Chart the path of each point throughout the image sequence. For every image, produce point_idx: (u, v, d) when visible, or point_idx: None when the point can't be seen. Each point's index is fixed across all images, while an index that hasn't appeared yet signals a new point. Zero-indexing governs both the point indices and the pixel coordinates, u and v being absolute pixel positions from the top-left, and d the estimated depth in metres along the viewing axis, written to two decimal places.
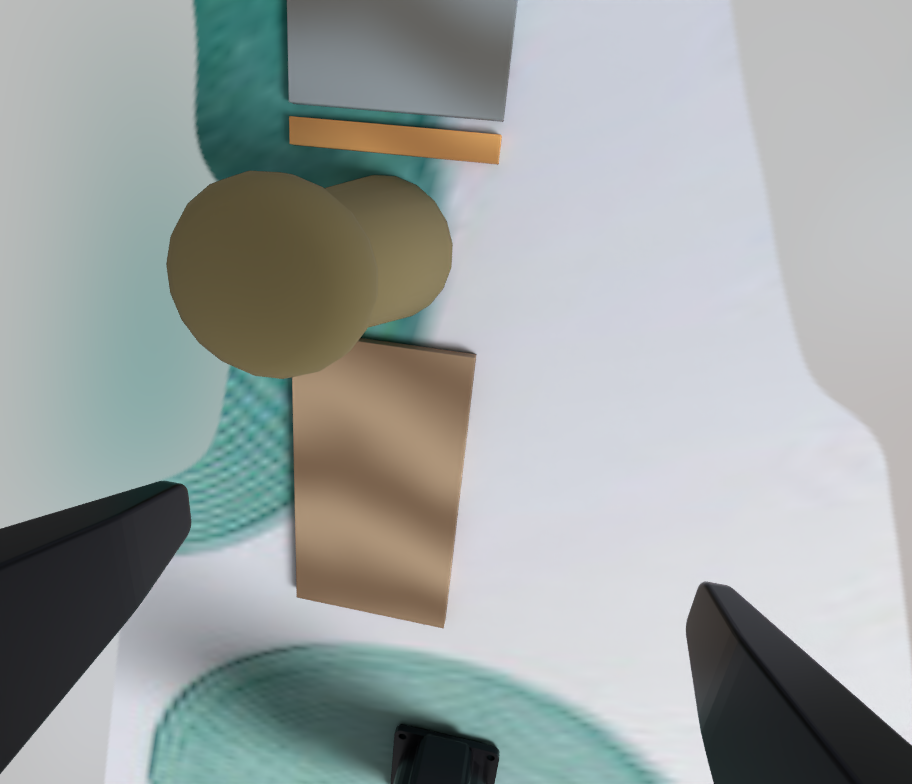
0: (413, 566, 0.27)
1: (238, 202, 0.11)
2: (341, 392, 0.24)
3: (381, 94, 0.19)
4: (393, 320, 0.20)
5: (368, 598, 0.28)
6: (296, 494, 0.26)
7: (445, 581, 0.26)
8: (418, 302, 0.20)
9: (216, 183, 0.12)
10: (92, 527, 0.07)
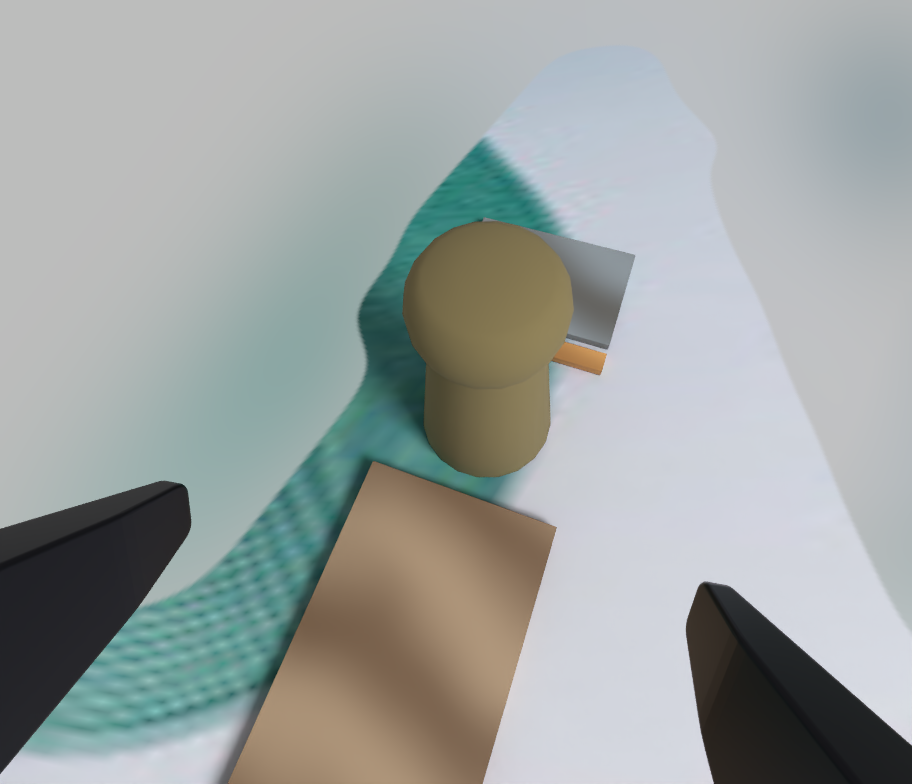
0: None
1: (504, 226, 0.15)
2: (400, 535, 0.21)
3: None
4: (498, 452, 0.21)
5: None
6: (283, 666, 0.20)
7: None
8: (524, 444, 0.21)
9: None
10: (92, 527, 0.07)
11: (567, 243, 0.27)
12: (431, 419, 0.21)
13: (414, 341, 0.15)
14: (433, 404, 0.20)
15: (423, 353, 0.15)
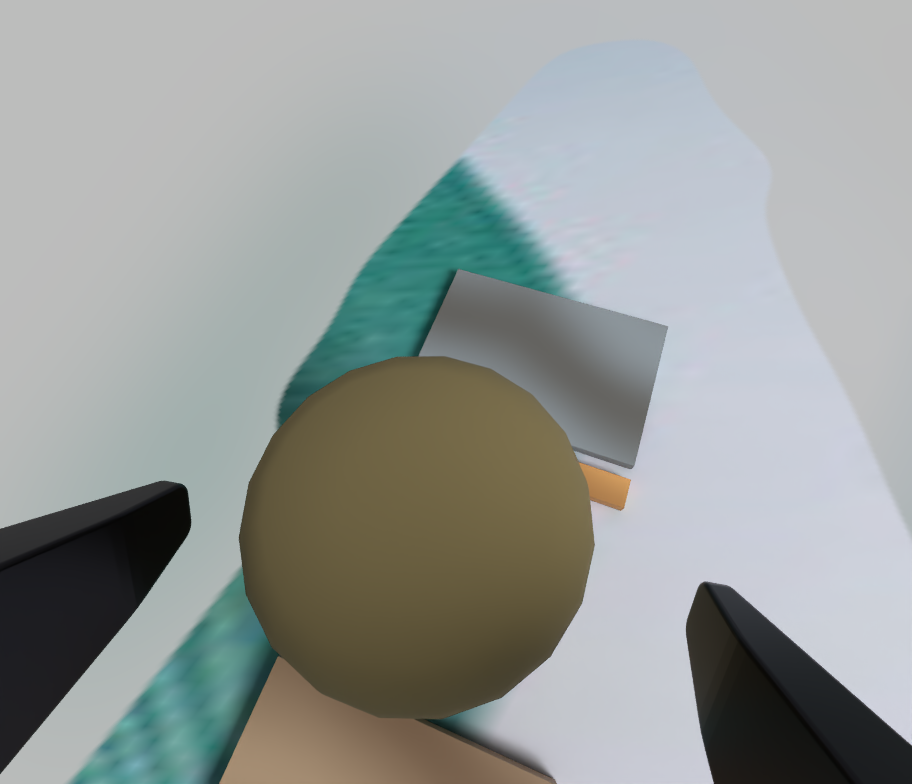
0: None
1: (452, 374, 0.07)
2: None
3: None
4: None
5: None
6: None
7: None
8: None
9: None
10: (92, 527, 0.07)
11: (572, 308, 0.20)
12: None
13: None
14: None
15: None
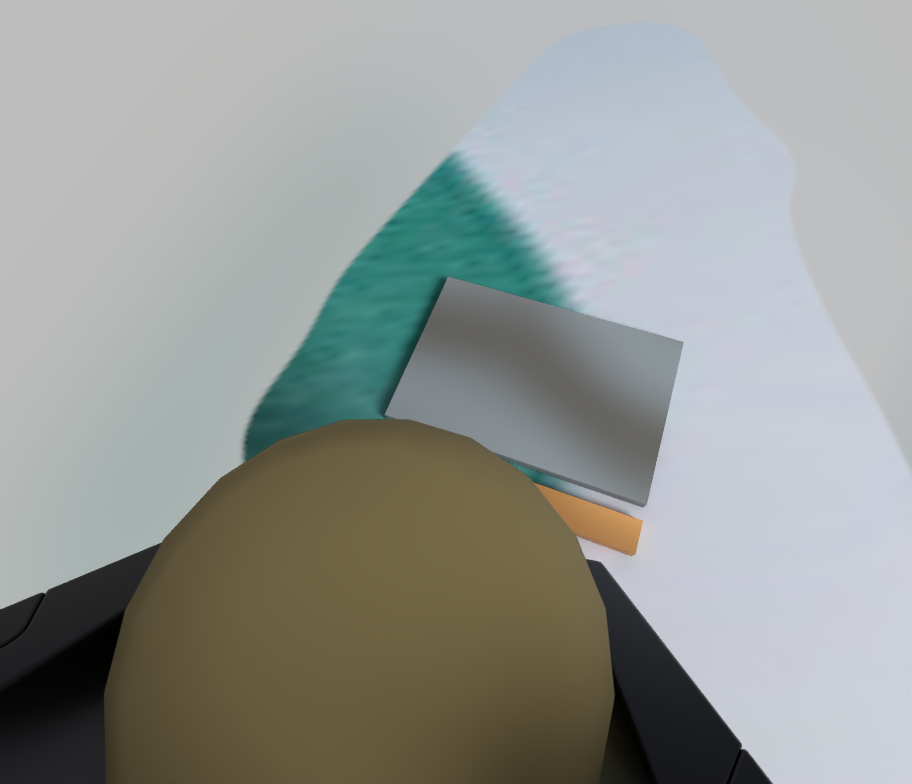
0: None
1: (413, 456, 0.05)
2: None
3: (499, 437, 0.16)
4: None
5: None
6: None
7: None
8: None
9: (361, 420, 0.06)
10: None
11: (576, 321, 0.18)
12: None
13: None
14: None
15: None
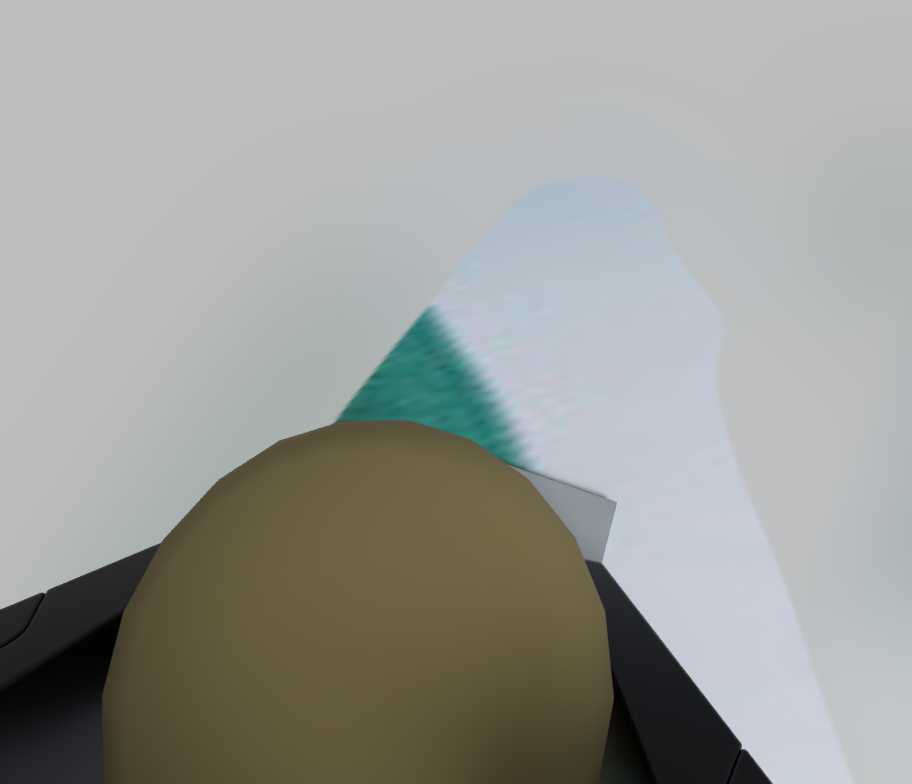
0: None
1: (412, 458, 0.05)
2: None
3: None
4: None
5: None
6: None
7: None
8: None
9: (360, 422, 0.06)
10: None
11: None
12: None
13: None
14: None
15: None
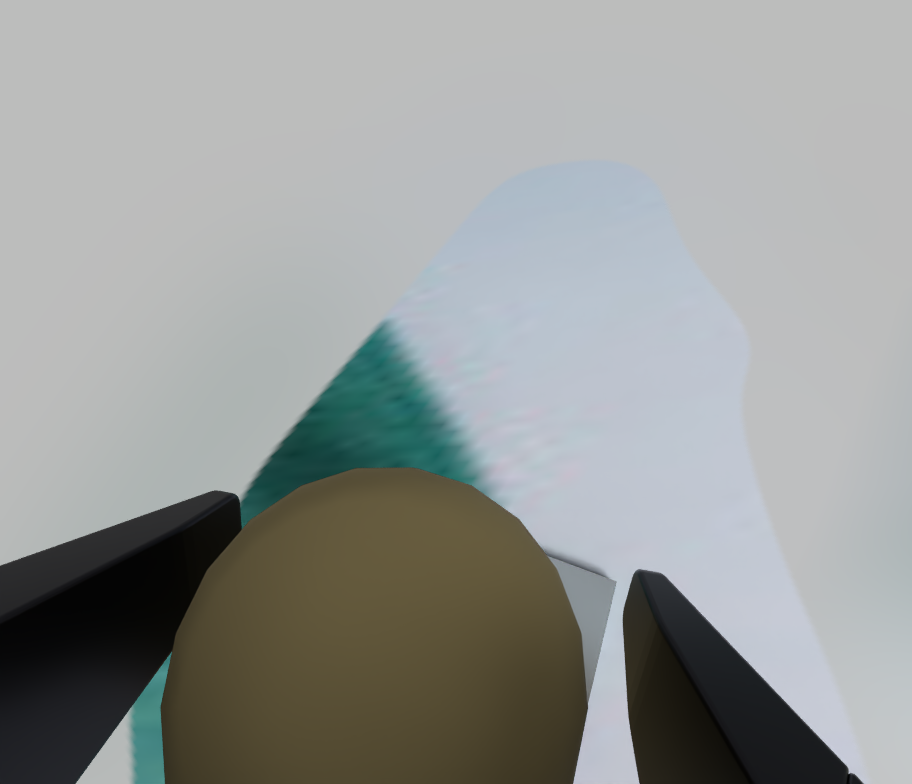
0: None
1: (416, 506, 0.06)
2: None
3: None
4: None
5: None
6: None
7: None
8: None
9: (371, 469, 0.07)
10: (155, 540, 0.07)
11: None
12: None
13: None
14: None
15: None
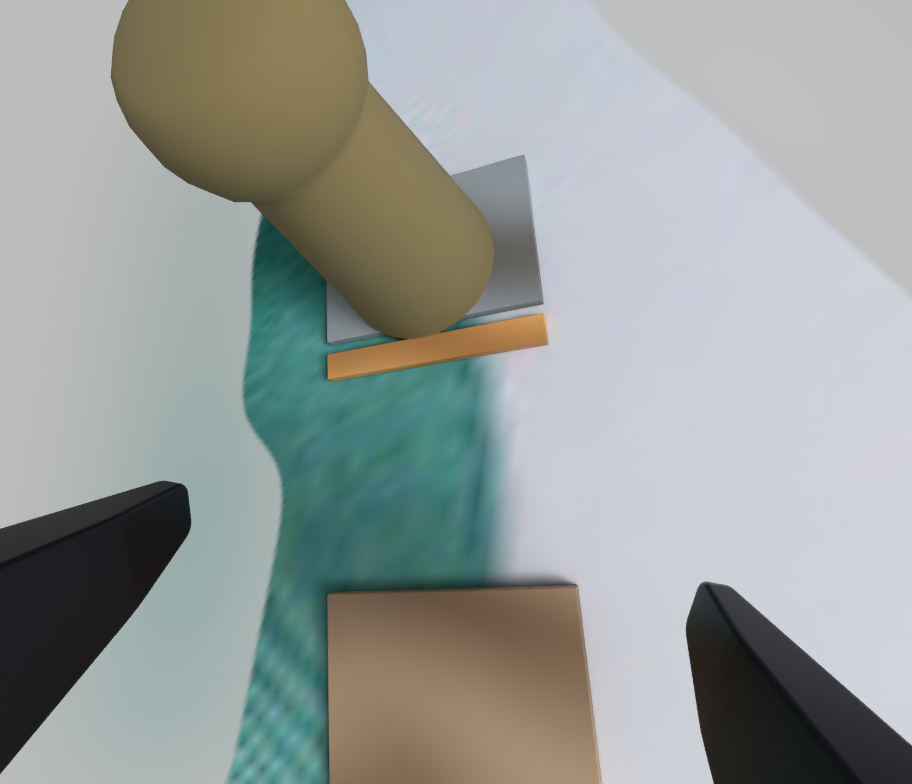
0: None
1: None
2: (394, 678, 0.16)
3: None
4: (427, 285, 0.16)
5: None
6: None
7: None
8: (455, 260, 0.16)
9: None
10: (92, 527, 0.07)
11: None
12: (338, 292, 0.17)
13: (171, 169, 0.10)
14: (316, 268, 0.15)
15: (187, 176, 0.10)
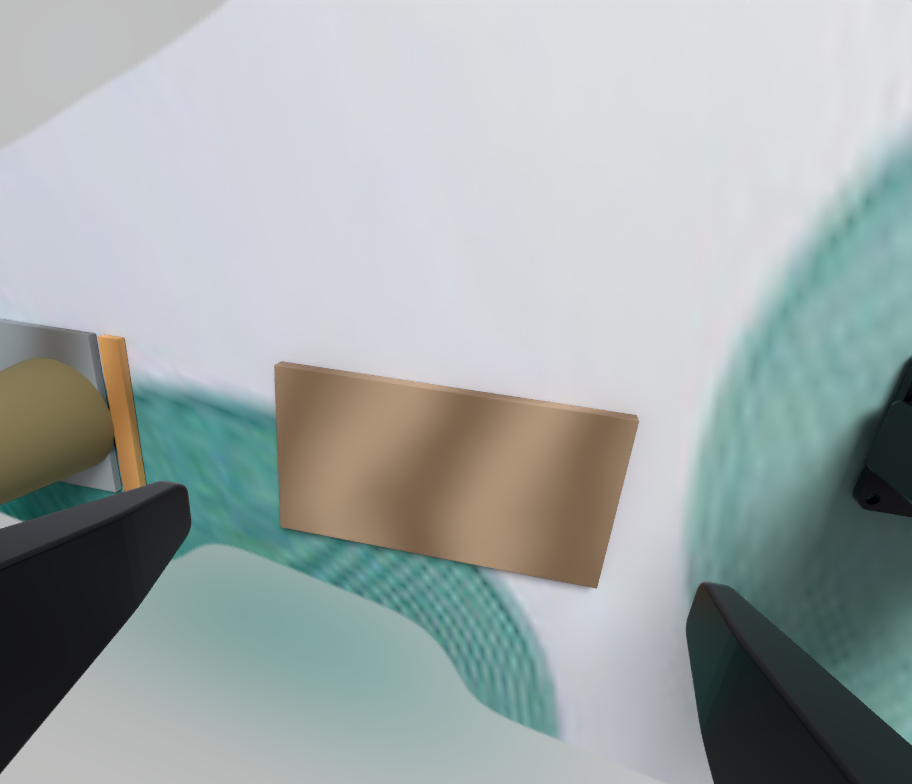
0: (537, 448, 0.21)
1: None
2: (330, 494, 0.24)
3: None
4: (47, 419, 0.22)
5: (593, 508, 0.22)
6: (451, 558, 0.24)
7: (558, 412, 0.21)
8: (34, 395, 0.22)
9: None
10: (92, 527, 0.07)
11: None
12: (49, 480, 0.23)
13: None
14: (13, 494, 0.22)
15: None
